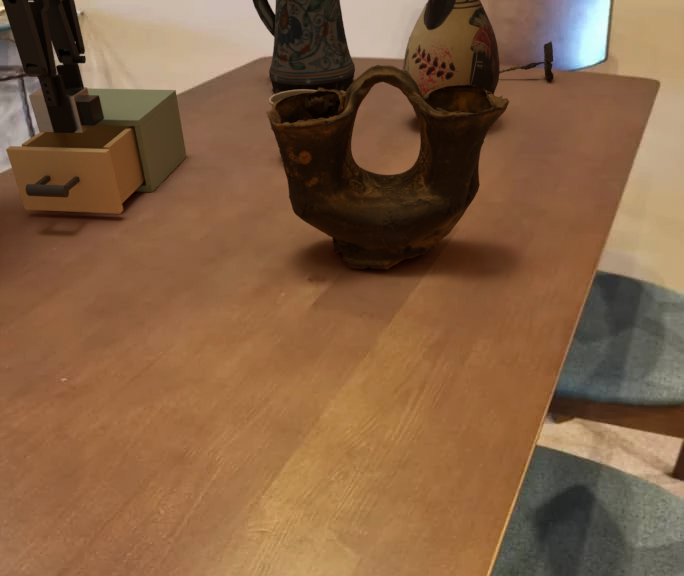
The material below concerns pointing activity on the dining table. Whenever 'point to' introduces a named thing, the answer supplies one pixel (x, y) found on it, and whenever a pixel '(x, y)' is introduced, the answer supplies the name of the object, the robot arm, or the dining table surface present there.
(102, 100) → the cabinet
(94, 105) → the black-capped tan block
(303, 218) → the pottery vessel
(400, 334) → the dining table surface
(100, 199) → the drawer
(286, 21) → the beer stein
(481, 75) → the ceramic jug
